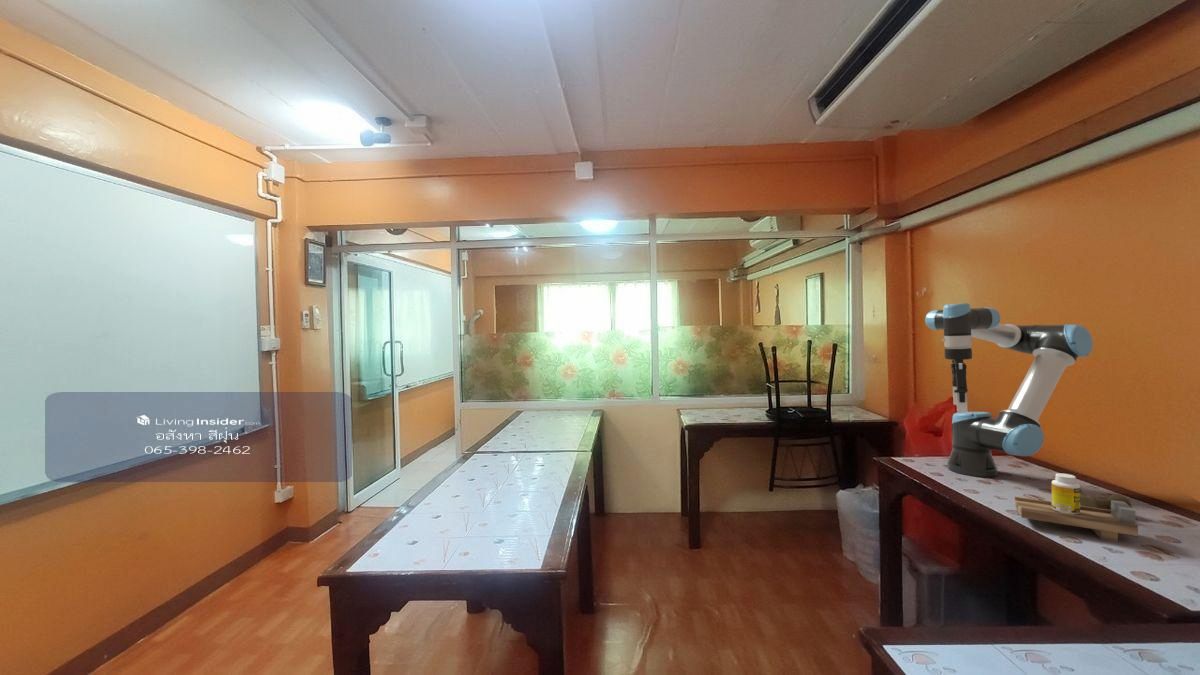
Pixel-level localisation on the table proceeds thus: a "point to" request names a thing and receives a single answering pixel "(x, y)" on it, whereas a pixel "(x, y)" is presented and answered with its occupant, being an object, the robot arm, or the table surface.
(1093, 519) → the wooden rack
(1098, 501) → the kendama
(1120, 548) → the table surface
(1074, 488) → the supplement bottle
